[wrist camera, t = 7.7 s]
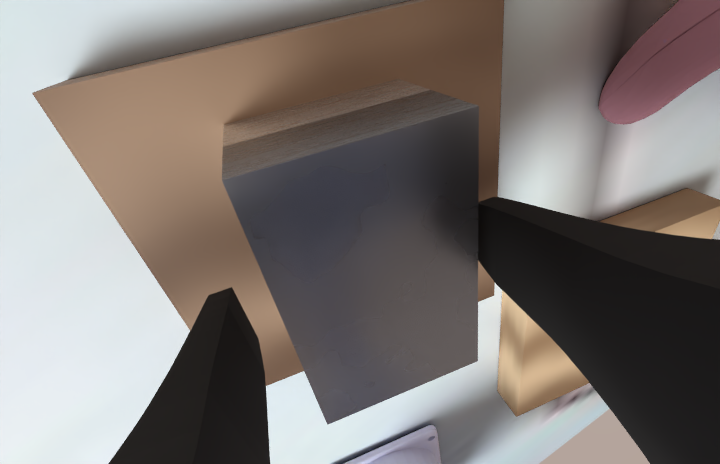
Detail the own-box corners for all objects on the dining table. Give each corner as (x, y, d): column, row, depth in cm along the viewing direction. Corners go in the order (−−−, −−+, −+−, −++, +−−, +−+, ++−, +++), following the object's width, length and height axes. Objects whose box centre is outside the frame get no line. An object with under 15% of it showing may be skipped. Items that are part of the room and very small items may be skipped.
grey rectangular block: (398, 78, 10) (479, 105, 7) (420, 284, 15) (477, 361, 11) (222, 124, 9) (222, 180, 6) (303, 328, 14) (327, 424, 11)
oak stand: (636, 328, 27) (662, 348, 25) (497, 390, 25) (516, 416, 23) (687, 188, 20) (727, 202, 19) (504, 257, 18) (531, 280, 17)
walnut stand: (469, 270, 18) (494, 295, 16) (234, 359, 16) (235, 397, 14) (464, -13, 11) (504, -18, 10) (65, 80, 10) (32, 93, 8)
